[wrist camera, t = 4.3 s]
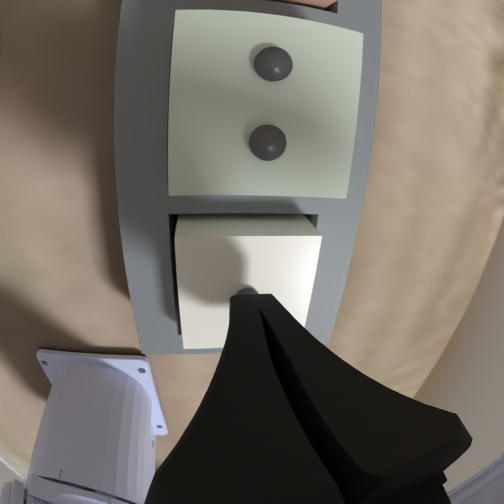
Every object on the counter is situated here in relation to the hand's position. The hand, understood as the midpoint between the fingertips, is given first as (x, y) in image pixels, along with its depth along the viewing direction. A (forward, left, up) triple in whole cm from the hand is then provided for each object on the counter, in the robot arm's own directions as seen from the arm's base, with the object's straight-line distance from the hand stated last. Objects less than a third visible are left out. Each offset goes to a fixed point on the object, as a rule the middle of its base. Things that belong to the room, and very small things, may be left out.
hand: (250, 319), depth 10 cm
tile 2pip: (+7, 0, -4) cm, 8 cm away
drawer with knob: (0, 0, -5) cm, 5 cm away
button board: (+7, 0, -5) cm, 8 cm away
